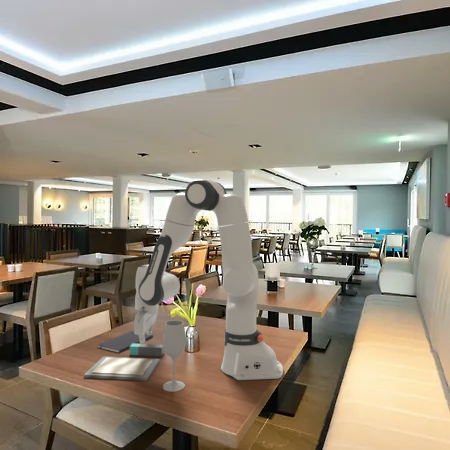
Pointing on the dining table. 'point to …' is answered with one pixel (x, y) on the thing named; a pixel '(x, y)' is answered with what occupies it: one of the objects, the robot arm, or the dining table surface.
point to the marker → (146, 349)
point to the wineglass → (174, 349)
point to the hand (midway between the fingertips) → (145, 338)
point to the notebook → (122, 342)
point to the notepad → (122, 368)
